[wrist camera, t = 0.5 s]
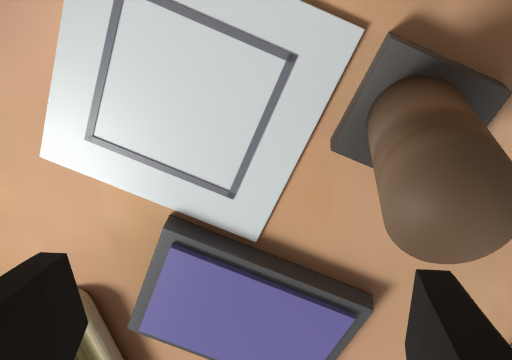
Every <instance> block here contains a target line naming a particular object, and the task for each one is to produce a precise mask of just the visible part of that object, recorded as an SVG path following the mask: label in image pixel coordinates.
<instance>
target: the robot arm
mask: <svg viewBox="0 0 512 360" xmlns="http://www.w3.org/2000/svg"><path fill="white" fill-rule="evenodd" d="M88 323H89V322H88V319H87V316H86V313H85V309H84V306H83V303H82V300H81V297H80V294H79V291H78V288H77V285H76V281H75V278H74V275H73V272H72V269H71V266H70V263H69V260H68V257H67V254H66V253H46V252H40V253H38V254H36V255H35V256H33V257H31V258H29V259H28V260H26V261H24V262H23V263H21V264H19V265H18V266H16V267H15V268H13V269H11V270H10V271H8V272H7V273H5V274H4V275H2V276H0V360H74V358H75V356H76V354H77V351H78V349H79V347H80V344H81V341H82V339H83V336H84V333H85V331H86V328H87V326H88ZM405 350H406V359H407V360H512V346H510V345H509V344H508V343H507V341H506V340H505V339H504V338H503V337H502V335H501V334H500V333H499V332H498V331H497V329H496V328H495V327H494V326H493V325H492V323H491V322H490V321H489V320H488V318H487V317H486V316H485V315H484V313H483V312H482V311H481V310H480V308H479V307H478V306H477V304H476V303H475V302H474V301H473V299H472V298H471V297H470V295H469V294H468V293H467V292H466V290H465V289H464V288H463V286H462V285H461V284H460V282H459V281H458V280H457V279H456V277H455V276H454V275H453V274H452V273H451V272H450V271H443V270H421V269H416V273H415V280H414V287H413V293H412V300H411V306H410V313H409V320H408V326H407V333H406V340H405Z"/></svg>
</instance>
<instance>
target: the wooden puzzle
mask: <svg viewBox="0 0 512 360" xmlns="http://www.w3.org/2000/svg"><path fill="white" fill-rule="evenodd" d="M78 291H79V294H80V297H81V300H82V303H83V306H84V309H85V313H86V316H87V319H88V322H89V323H88V326H87V328H86V331H85V333H84V336H83V339H82V341H81V344H80V347H79V349H78V351H77V354H76V356H75V358H74V360H124V359H123V357H122V355H121V353H120V351H119V349H118V348H117V346H116V344H115V342H114V340H113V338H112V336H111V334H110V332H109V330H108V328H107V327H106V325H105V323H104V321H103V319H102V317H101V315H100V313H99V311H98V309H97V307H96V306H95V304H94V302H93V300H92V299H91V297H90V295H89V294H88V293H87V292H86V291H85V290H83V289H81V288H78Z"/></svg>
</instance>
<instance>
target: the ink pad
mask: <svg viewBox="0 0 512 360" xmlns="http://www.w3.org/2000/svg"><path fill="white" fill-rule="evenodd" d="M373 311H374V309H373V301H372V294H369V293H366V292H364V291H361V290H359V289H356V288H354V287H351V286H349V285H346V284H344V283H341V282H339V281H336V280H334V279H331V278H328V277H326V276H323V275H321V274H318V273H316V272H313V271H311V270H308V269H306V268H303V267H301V266H298V265H296V264H293V263H290V262H288V261H285V260H283V259H280V258H278V257H275V256H273V255H270V254H268V253H265V252H263V251H260V250H258V249H255V248H252V247H250V246H247V245H245V244H242V243H240V242H237V241H235V240H232V239H230V238H227V237H225V236H222V235H220V234H217V233H214V232H212V231H209V230H207V229H204V228H202V227H199V226H197V225H194V224H192V223H189V222H187V221H184V220H182V219H179V218H176V217H174V216H171V215H169V217H168V219H167V221H166V223H165V225H164V227H163V230H162V232H161V235H160V238H159V241H158V244H157V246H156V249H155V252H154V255H153V257H152V260H151V263H150V266H149V268H148V271H147V274H146V277H145V280H144V282H143V285H142V288H141V291H140V293H139V296H138V299H137V302H136V305H135V307H134V310H133V313H132V316H131V318H130V321H129V324H128V327H127V329H128V330H131V331H134V332H136V333H139V334H142V335H144V336H147V337H150V338H153V339H155V340H158V341H161V342H163V343H166V344H169V345H171V346H174V347H177V348H180V349H182V350H185V351H188V352H190V353H193V354H196V355H198V356H201V357H204V358H207V359H209V360H336V359H337V357H338V356H339V355H340V353H341V352H342V351H343V350H344V348H345V347H346V346H347V344H348V343H349V342H350V341H351V339H352V338H353V337H354V335H355V334H356V333H357V331H358V330H359V329H360V328H361V326H362V325H363V324H364V322H365V321H366V320H367V319H368V317H369V316H370V315H371V313H372V312H373Z"/></svg>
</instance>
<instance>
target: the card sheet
mask: <svg viewBox="0 0 512 360" xmlns="http://www.w3.org/2000/svg"><path fill="white" fill-rule="evenodd" d="M364 30H365V29H364V28H362V27H360V26H358V25H356V24H353V23H351V22H349V21H347V20H344V19H342V18H340V17H338V16H336V15H333V14H331V13H329V12H327V11H324V10H322V9H320V8H318V7H315V6H313V5H311V4H309V3H306V2H304V1H302V0H64V5H63V11H62V18H61V24H60V31H59V37H58V43H57V50H56V56H55V62H54V69H53V75H52V81H51V88H50V94H49V100H48V107H47V113H46V119H45V126H44V132H43V139H42V145H41V151H40V157H42V158H44V159H47V160H49V161H52V162H54V163H57V164H59V165H62V166H64V167H67V168H69V169H72V170H74V171H77V172H80V173H82V174H85V175H87V176H90V177H92V178H95V179H97V180H100V181H102V182H105V183H107V184H110V185H112V186H115V187H117V188H120V189H122V190H125V191H127V192H130V193H133V194H135V195H138V196H140V197H143V198H145V199H148V200H150V201H153V202H155V203H158V204H160V205H163V206H165V207H168V208H170V209H173V210H175V211H178V212H181V213H183V214H186V215H188V216H191V217H193V218H196V219H198V220H201V221H203V222H206V223H208V224H211V225H213V226H216V227H218V228H221V229H223V230H226V231H228V232H231V233H234V234H236V235H239V236H241V237H244V238H246V239H249V240H251V241H254V242H256V241H257V239H258V237H259V235H260V233H261V231H262V230H263V228H264V226H265V224H266V222H267V220H268V218H269V216H270V214H271V212H272V210H273V208H274V206H275V204H276V202H277V200H278V198H279V196H280V194H281V192H282V190H283V188H284V187H285V185H286V183H287V181H288V179H289V177H290V175H291V173H292V171H293V169H294V167H295V165H296V163H297V161H298V159H299V157H300V155H301V153H302V151H303V149H304V147H305V145H306V144H307V142H308V140H309V138H310V136H311V134H312V132H313V130H314V128H315V126H316V124H317V122H318V120H319V118H320V116H321V114H322V112H323V110H324V108H325V106H326V104H327V102H328V100H329V99H330V97H331V95H332V93H333V91H334V89H335V87H336V85H337V83H338V81H339V79H340V77H341V75H342V73H343V71H344V69H345V67H346V65H347V63H348V61H349V59H350V57H351V56H352V54H353V52H354V50H355V48H356V46H357V44H358V42H359V40H360V38H361V36H362V34H363V32H364Z"/></svg>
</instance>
